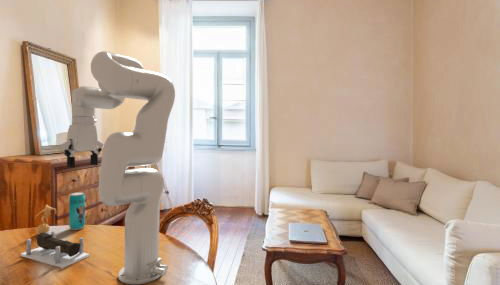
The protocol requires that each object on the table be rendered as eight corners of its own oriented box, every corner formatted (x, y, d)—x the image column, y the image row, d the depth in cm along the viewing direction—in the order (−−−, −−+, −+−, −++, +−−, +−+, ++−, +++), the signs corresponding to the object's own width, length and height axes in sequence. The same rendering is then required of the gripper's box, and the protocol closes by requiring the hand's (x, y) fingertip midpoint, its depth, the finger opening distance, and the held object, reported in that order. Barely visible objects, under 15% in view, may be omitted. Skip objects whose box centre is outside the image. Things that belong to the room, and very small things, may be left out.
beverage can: (76, 231, 117) (76, 195, 116) (65, 229, 119) (66, 194, 118) (88, 227, 122) (88, 192, 122) (78, 225, 124) (78, 191, 124)
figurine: (51, 229, 118) (51, 201, 118) (60, 232, 116) (60, 203, 115) (28, 236, 110) (29, 205, 110) (38, 238, 108) (38, 207, 108)
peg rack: (89, 256, 95) (89, 239, 94) (62, 268, 86) (62, 249, 86) (49, 245, 102) (49, 230, 102) (20, 256, 93) (20, 238, 93)
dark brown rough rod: (81, 253, 92) (81, 239, 92) (69, 258, 88) (69, 243, 88) (45, 242, 100) (46, 229, 100) (33, 246, 96) (33, 233, 96)
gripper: (95, 122, 118) (95, 163, 118) (54, 120, 101) (53, 167, 102) (109, 122, 115) (108, 164, 115) (68, 120, 99) (68, 169, 99)
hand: (82, 166), depth 109 cm, fingers open, 9 cm apart
